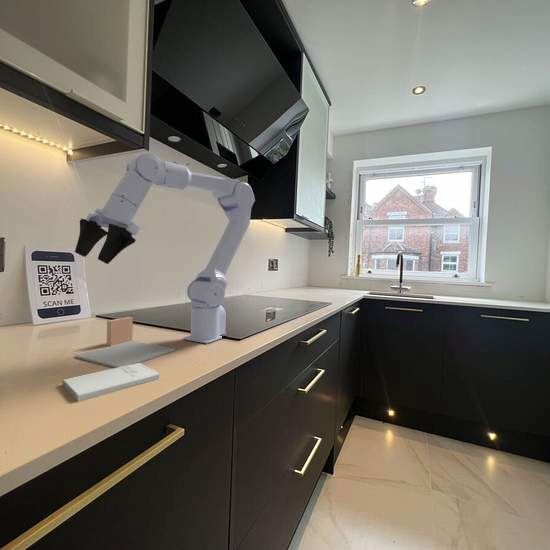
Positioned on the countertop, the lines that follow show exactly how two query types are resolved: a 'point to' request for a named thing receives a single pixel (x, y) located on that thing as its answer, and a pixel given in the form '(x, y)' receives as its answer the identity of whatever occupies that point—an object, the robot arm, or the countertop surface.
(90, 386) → the external hard drive
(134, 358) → the mat
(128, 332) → the tile
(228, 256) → the robot arm
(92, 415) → the countertop surface
